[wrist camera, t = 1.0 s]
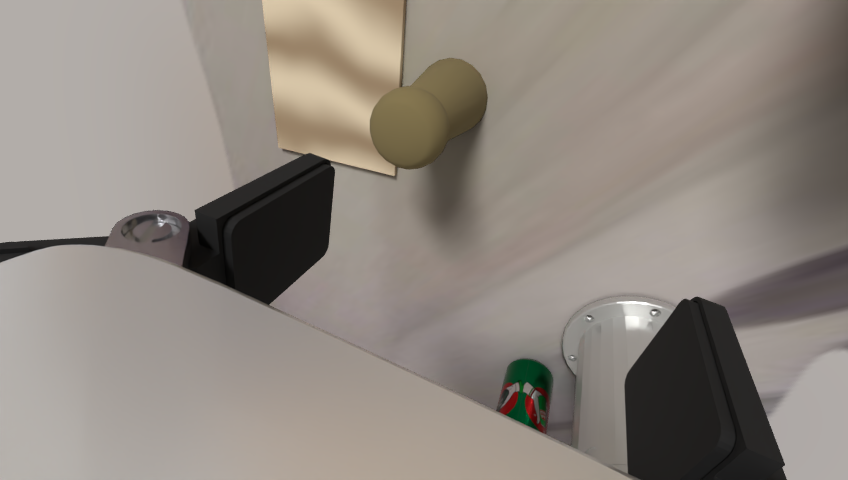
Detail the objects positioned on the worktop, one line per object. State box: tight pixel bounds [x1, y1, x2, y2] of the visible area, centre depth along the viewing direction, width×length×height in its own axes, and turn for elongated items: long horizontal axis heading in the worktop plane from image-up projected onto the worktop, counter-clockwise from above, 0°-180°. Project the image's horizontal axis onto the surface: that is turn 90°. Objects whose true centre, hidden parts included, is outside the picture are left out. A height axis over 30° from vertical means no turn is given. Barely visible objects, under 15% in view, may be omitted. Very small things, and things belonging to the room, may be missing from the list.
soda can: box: [496, 359, 553, 434], centre depth 42 cm, size 5×5×12 cm
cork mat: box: [262, 0, 406, 176], centre depth 36 cm, size 18×13×1 cm
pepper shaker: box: [370, 58, 488, 169], centre depth 30 cm, size 6×6×11 cm
